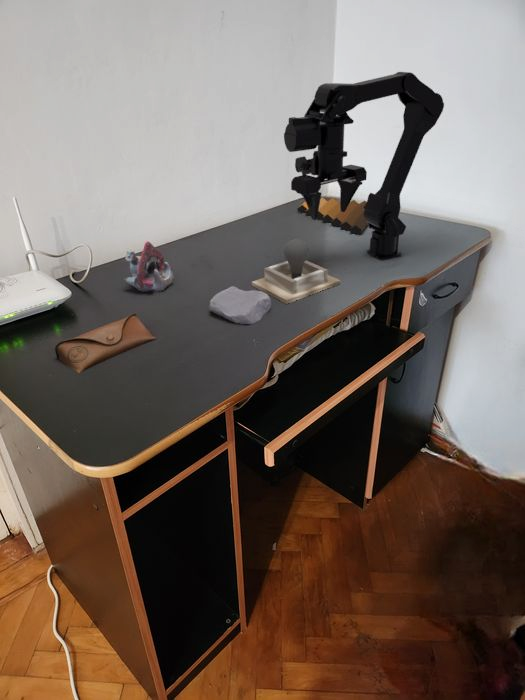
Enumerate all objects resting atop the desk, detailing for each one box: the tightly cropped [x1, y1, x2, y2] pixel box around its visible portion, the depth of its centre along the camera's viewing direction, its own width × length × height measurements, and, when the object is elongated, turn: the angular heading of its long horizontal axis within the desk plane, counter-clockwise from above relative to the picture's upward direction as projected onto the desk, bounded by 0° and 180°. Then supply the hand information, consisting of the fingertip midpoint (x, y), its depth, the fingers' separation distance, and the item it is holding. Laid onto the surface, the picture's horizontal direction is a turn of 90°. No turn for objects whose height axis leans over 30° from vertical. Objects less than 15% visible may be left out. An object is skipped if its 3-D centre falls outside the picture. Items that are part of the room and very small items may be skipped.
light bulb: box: [283, 238, 309, 279], centre depth 122 cm, size 6×6×10 cm
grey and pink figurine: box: [123, 241, 174, 293], centre depth 126 cm, size 11×11×12 cm
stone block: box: [208, 285, 272, 325], centre depth 114 cm, size 12×5×10 cm
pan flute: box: [296, 196, 368, 236], centre depth 166 cm, size 25×3×25 cm
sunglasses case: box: [54, 313, 157, 374], centre depth 103 cm, size 18×7×7 cm
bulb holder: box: [251, 259, 341, 305], centre depth 124 cm, size 16×13×4 cm
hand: (328, 215), depth 127 cm, fingers open, 9 cm apart
